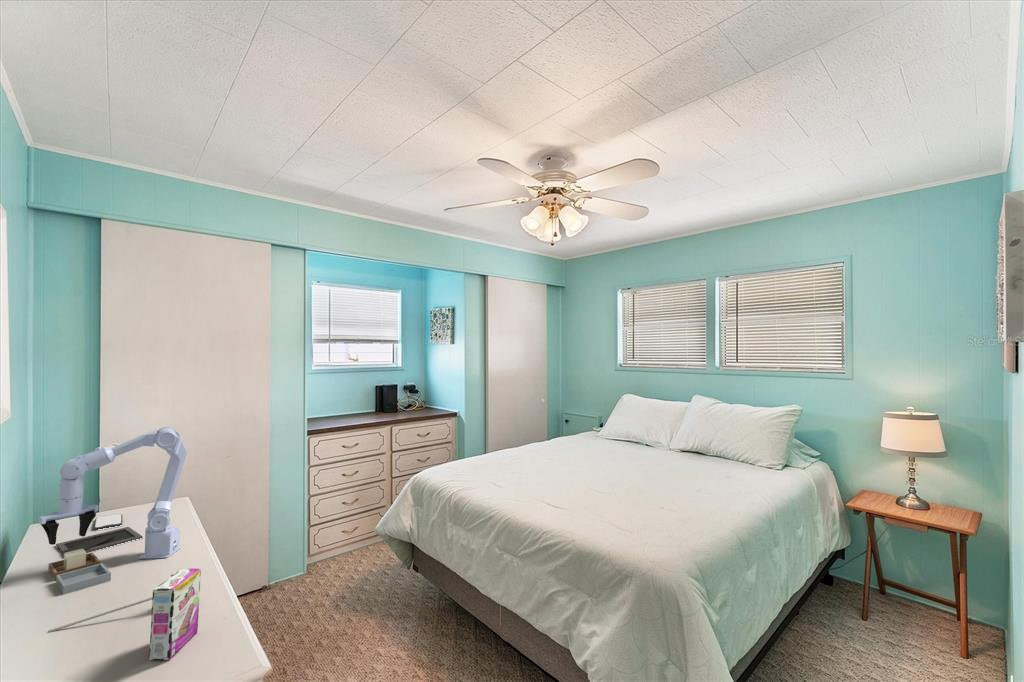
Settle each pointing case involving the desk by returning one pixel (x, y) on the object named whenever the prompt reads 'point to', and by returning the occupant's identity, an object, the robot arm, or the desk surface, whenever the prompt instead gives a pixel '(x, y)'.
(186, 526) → the desk surface
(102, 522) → the phone case
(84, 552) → the sandstone block
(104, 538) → the picture frame
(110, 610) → the brush
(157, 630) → the candy bar box
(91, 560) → the walnut tray
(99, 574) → the grey tray
